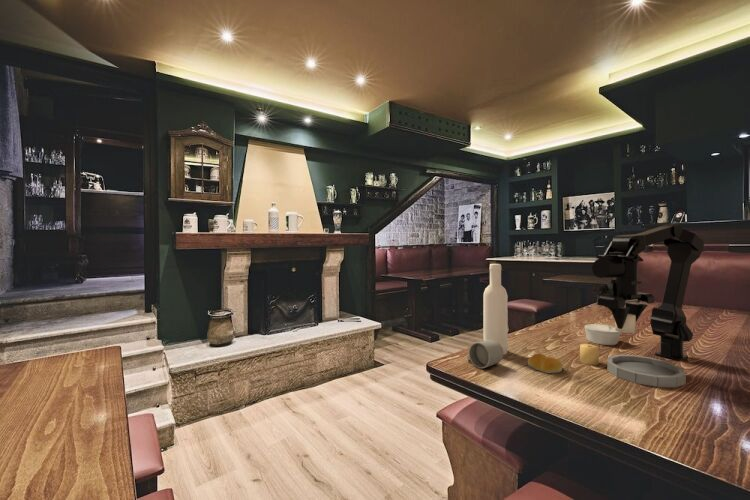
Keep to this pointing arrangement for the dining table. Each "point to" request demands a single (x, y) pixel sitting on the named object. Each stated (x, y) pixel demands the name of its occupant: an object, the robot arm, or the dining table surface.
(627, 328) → the cream bead
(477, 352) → the ceramic mug
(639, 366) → the round tray
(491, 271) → the bottle
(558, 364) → the bread roll
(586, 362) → the ochre bead
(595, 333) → the ramekin
